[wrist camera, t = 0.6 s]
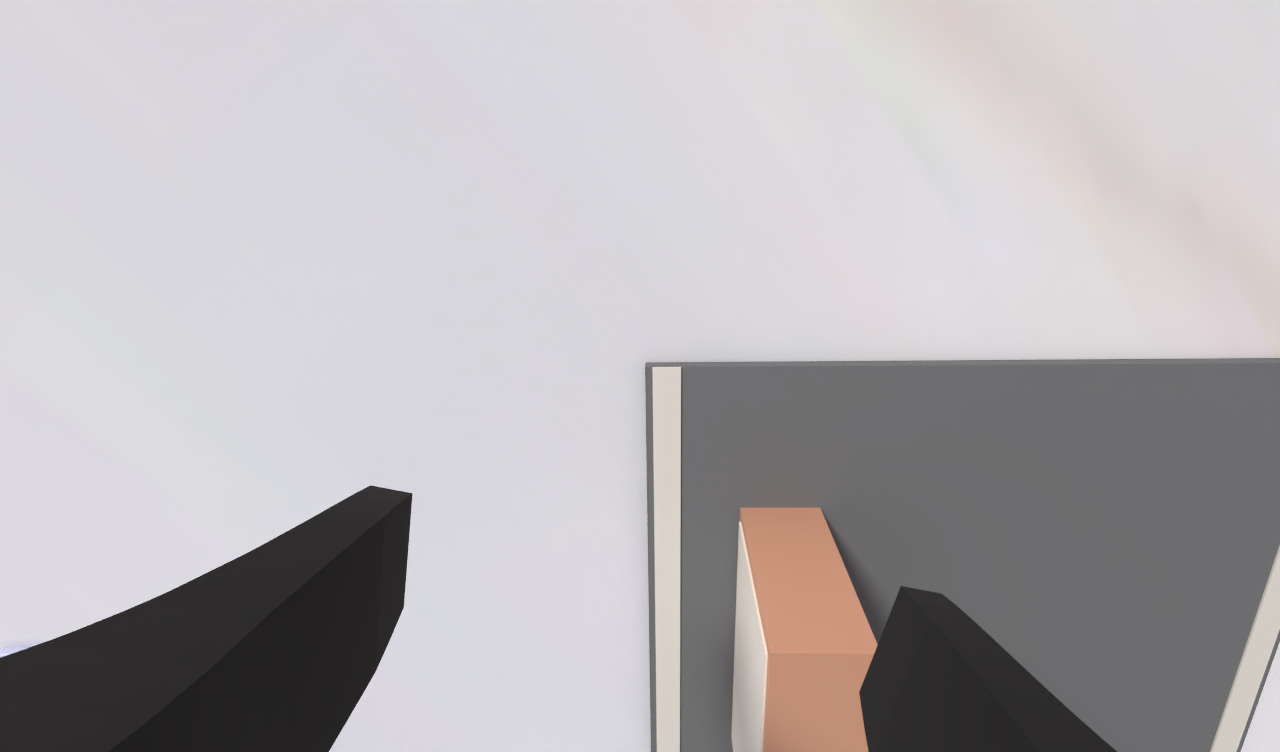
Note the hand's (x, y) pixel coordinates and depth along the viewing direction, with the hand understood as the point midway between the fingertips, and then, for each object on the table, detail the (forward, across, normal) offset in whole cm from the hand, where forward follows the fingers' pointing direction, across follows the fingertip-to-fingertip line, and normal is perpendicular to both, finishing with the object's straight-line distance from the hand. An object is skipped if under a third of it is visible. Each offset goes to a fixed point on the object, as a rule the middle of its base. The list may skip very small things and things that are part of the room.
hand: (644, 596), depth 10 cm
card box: (+10, -5, +8) cm, 14 cm away
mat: (+11, -11, +7) cm, 17 cm away
